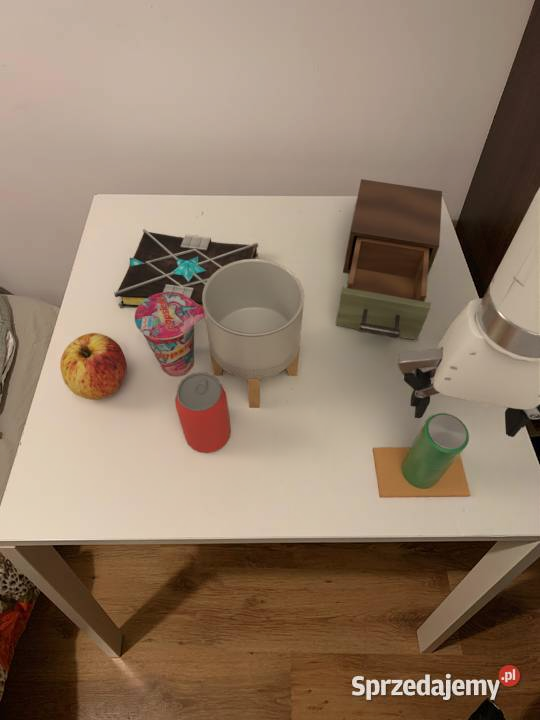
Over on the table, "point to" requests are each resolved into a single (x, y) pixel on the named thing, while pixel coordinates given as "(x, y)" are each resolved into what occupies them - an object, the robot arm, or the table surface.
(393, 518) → the table surface
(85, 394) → the apple
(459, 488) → the mat
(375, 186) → the cabinet
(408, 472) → the green can
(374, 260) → the drawer
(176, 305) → the cup
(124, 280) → the book
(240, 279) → the planter
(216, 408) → the beer can
